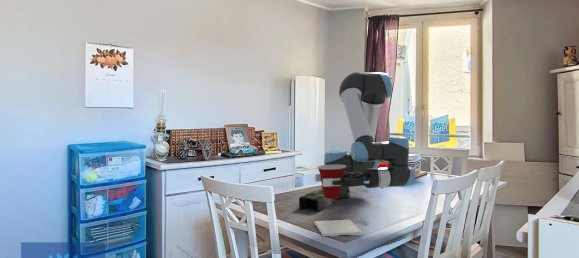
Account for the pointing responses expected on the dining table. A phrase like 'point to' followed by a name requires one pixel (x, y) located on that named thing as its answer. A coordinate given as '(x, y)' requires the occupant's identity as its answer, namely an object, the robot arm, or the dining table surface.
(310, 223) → the dining table surface
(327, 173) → the plastic cup
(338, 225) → the cream tile
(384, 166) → the tomato
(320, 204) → the olive boxy piece
